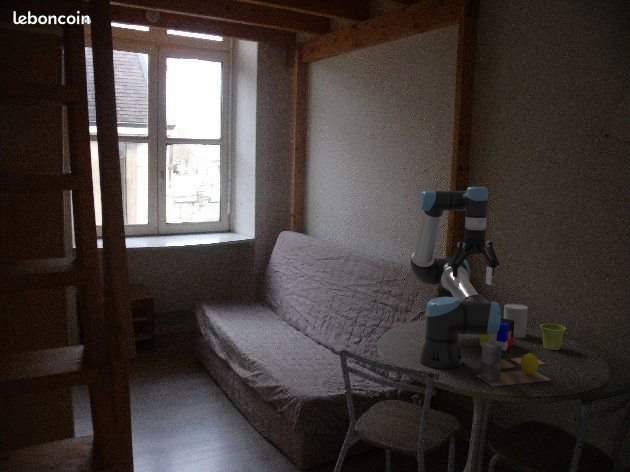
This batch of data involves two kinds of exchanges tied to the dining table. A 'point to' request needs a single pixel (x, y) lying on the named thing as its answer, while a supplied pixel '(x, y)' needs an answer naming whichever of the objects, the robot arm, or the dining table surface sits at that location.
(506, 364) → the brown wooden plank
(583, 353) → the dining table surface
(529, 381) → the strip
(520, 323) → the white cylinder
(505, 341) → the puzzle toy
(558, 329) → the plant pot
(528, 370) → the lemon
